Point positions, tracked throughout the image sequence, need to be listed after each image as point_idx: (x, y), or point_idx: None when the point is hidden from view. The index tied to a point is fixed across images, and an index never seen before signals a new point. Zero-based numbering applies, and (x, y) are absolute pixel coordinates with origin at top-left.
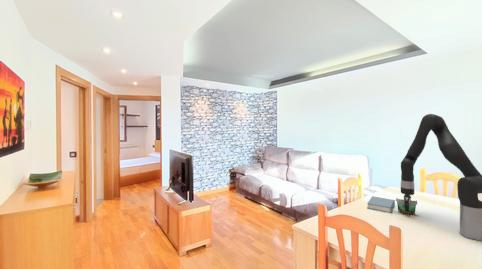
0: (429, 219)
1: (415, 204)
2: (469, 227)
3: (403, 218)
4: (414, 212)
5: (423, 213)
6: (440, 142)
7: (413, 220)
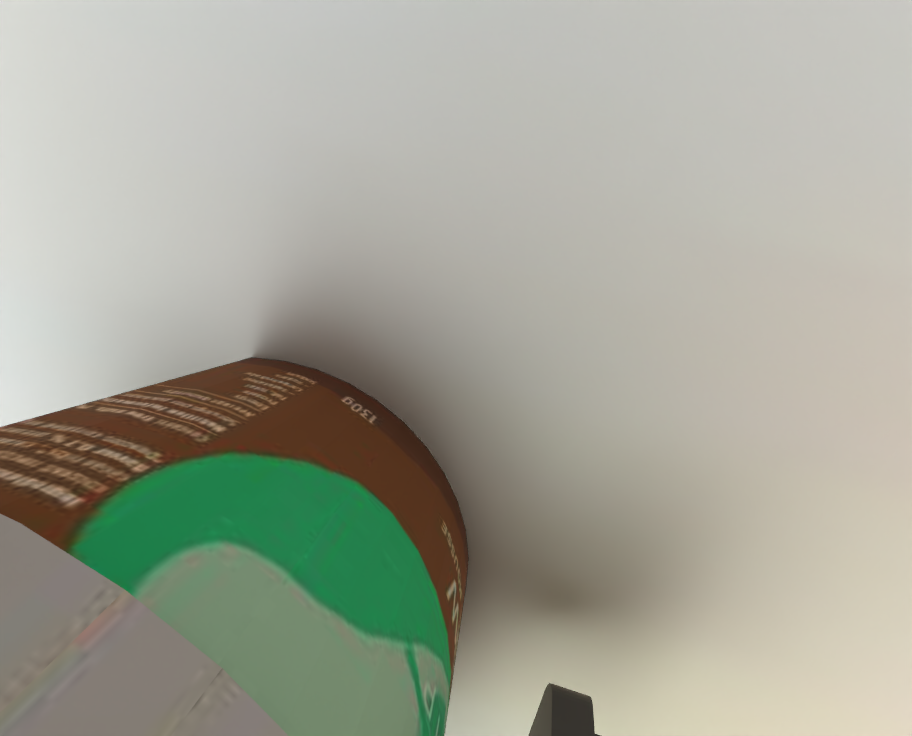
0: (599, 20)
1: (235, 693)
2: None
3: (791, 733)
4: (336, 417)
5: (86, 92)
6: None
7: (884, 541)
